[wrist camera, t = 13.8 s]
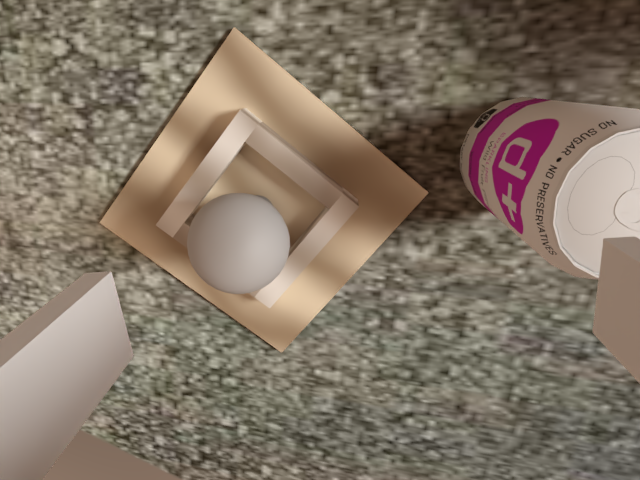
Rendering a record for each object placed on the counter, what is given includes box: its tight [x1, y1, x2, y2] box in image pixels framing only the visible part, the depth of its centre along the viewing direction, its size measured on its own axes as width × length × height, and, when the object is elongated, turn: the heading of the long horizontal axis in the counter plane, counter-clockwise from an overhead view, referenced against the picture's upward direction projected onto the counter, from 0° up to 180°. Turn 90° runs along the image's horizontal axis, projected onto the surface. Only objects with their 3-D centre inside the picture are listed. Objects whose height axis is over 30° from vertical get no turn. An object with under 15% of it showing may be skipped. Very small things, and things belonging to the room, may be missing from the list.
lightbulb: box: [187, 193, 290, 294], centre depth 31 cm, size 6×6×11 cm
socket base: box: [100, 27, 428, 353], centre depth 35 cm, size 18×18×3 cm
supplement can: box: [460, 97, 640, 280], centre depth 28 cm, size 8×8×15 cm
